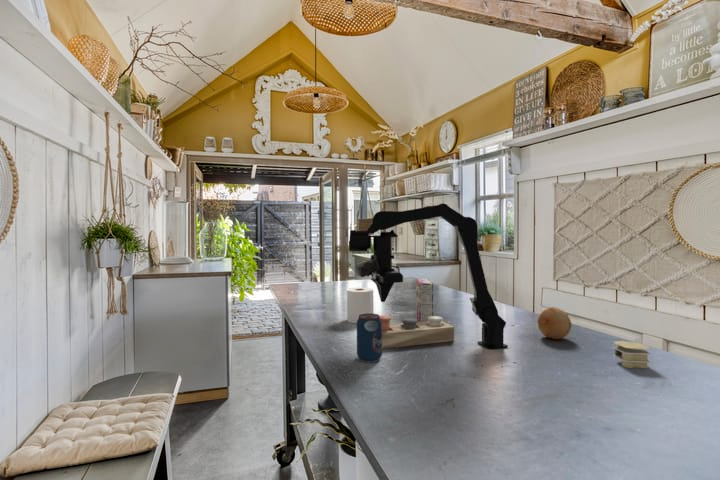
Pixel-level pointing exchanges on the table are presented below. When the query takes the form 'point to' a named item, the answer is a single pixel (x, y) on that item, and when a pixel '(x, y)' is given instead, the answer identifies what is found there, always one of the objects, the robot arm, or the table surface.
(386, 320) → the salmon plug
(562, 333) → the onion
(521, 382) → the table surface
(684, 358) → the table surface
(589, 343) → the table surface
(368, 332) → the soda can
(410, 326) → the grey rounded piece
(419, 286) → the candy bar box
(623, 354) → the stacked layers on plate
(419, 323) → the socket block
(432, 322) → the white plug
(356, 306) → the toilet paper
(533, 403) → the table surface
